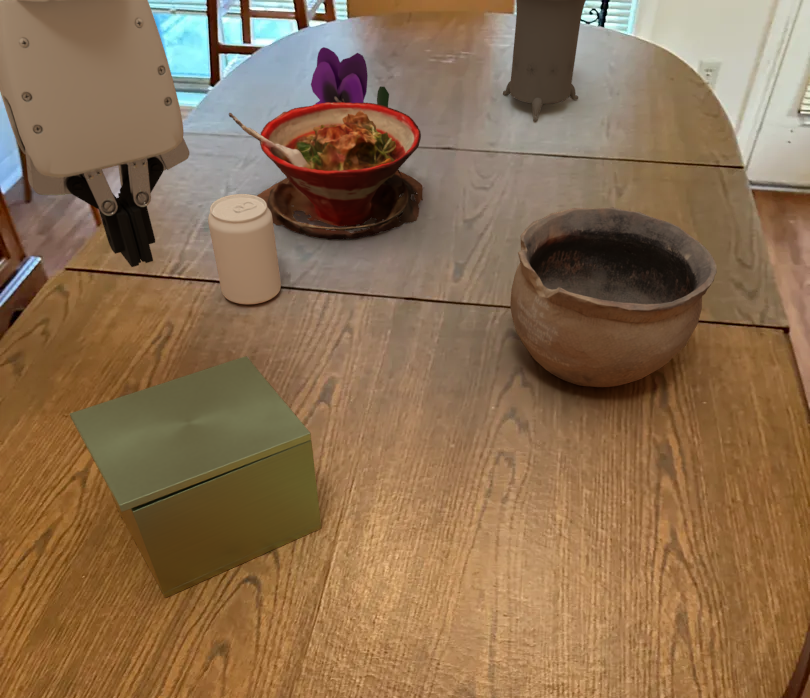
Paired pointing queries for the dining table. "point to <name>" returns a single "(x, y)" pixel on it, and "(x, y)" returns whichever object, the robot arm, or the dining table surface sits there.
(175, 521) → the bin
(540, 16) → the grey footed vase
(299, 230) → the stew
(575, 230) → the ceramic bowl
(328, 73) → the flower
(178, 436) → the bin lid
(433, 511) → the dining table surface
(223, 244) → the beverage can
